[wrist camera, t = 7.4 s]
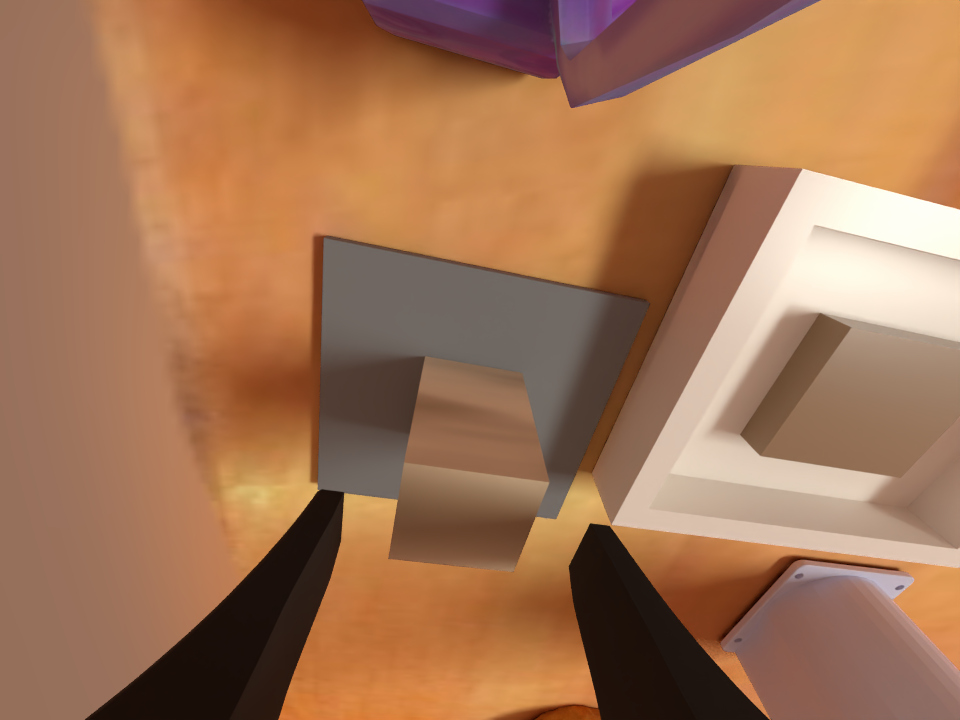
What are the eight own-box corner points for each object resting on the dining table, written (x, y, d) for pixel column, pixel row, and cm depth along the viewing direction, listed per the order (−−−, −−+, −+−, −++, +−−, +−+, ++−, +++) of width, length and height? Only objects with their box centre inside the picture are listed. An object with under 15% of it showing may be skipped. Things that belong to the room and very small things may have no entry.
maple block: (499, 447, 18) (513, 572, 13) (412, 434, 17) (388, 558, 12) (522, 372, 16) (549, 482, 11) (425, 356, 16) (404, 462, 10)
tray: (898, 516, 22) (959, 567, 19) (591, 473, 19) (611, 524, 17) (1149, 271, 15) (1293, 297, 13) (734, 164, 13) (802, 168, 10)
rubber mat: (554, 512, 21) (556, 519, 20) (320, 483, 19) (317, 489, 19) (645, 300, 15) (650, 303, 15) (327, 235, 14) (323, 238, 13)
